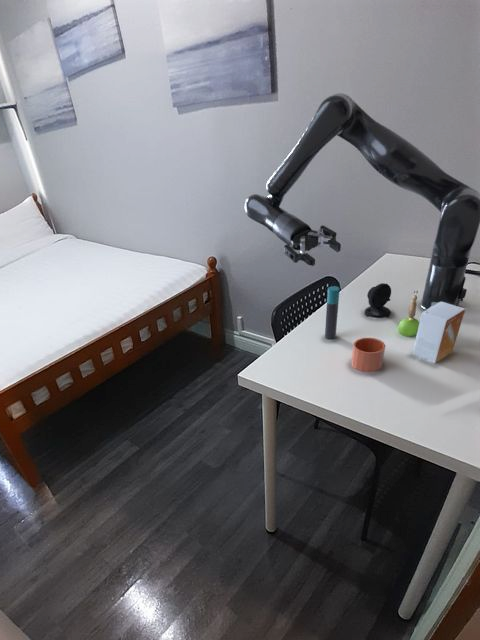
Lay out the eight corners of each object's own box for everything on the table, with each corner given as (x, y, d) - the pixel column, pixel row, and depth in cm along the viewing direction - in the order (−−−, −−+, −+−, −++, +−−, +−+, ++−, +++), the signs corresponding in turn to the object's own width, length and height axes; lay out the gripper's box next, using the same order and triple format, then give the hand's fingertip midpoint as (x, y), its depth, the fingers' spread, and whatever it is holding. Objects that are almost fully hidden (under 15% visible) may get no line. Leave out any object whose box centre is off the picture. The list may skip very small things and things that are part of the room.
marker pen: (331, 335, 120) (335, 285, 110) (337, 340, 118) (342, 288, 108) (322, 338, 119) (325, 287, 110) (328, 342, 117) (332, 291, 107)
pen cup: (369, 355, 109) (372, 334, 106) (388, 369, 104) (392, 347, 100) (345, 363, 108) (347, 342, 104) (363, 377, 102) (366, 356, 98)
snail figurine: (418, 329, 116) (427, 291, 109) (418, 341, 111) (427, 301, 104) (397, 328, 118) (404, 290, 111) (396, 339, 114) (403, 300, 106)
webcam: (377, 306, 130) (381, 276, 124) (396, 314, 124) (401, 284, 118) (358, 313, 128) (362, 284, 122) (377, 322, 122) (381, 292, 116)
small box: (434, 366, 102) (446, 320, 94) (411, 356, 106) (420, 312, 99) (453, 353, 105) (466, 308, 97) (429, 344, 110) (440, 300, 102)
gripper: (270, 229, 116) (305, 256, 107) (311, 208, 118) (349, 232, 109) (271, 251, 122) (305, 278, 113) (310, 230, 124) (346, 255, 115)
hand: (326, 255), depth 111 cm, fingers open, 8 cm apart
